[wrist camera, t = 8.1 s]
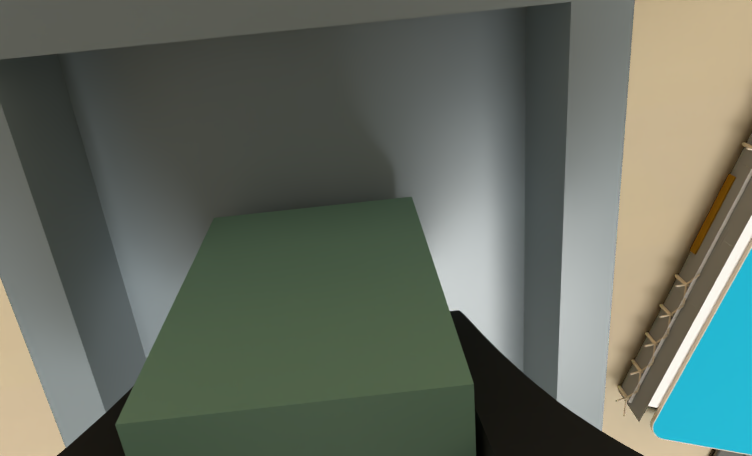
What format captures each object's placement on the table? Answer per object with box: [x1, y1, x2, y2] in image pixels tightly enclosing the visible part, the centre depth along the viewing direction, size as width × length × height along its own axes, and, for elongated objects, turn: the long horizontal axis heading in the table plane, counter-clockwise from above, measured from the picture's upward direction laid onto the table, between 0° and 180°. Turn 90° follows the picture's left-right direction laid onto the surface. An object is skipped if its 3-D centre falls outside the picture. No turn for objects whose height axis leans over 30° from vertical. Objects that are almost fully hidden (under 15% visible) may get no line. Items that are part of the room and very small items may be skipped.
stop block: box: [115, 197, 476, 456], centre depth 10 cm, size 4×4×6 cm
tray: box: [0, 0, 635, 448], centre depth 13 cm, size 11×14×3 cm
